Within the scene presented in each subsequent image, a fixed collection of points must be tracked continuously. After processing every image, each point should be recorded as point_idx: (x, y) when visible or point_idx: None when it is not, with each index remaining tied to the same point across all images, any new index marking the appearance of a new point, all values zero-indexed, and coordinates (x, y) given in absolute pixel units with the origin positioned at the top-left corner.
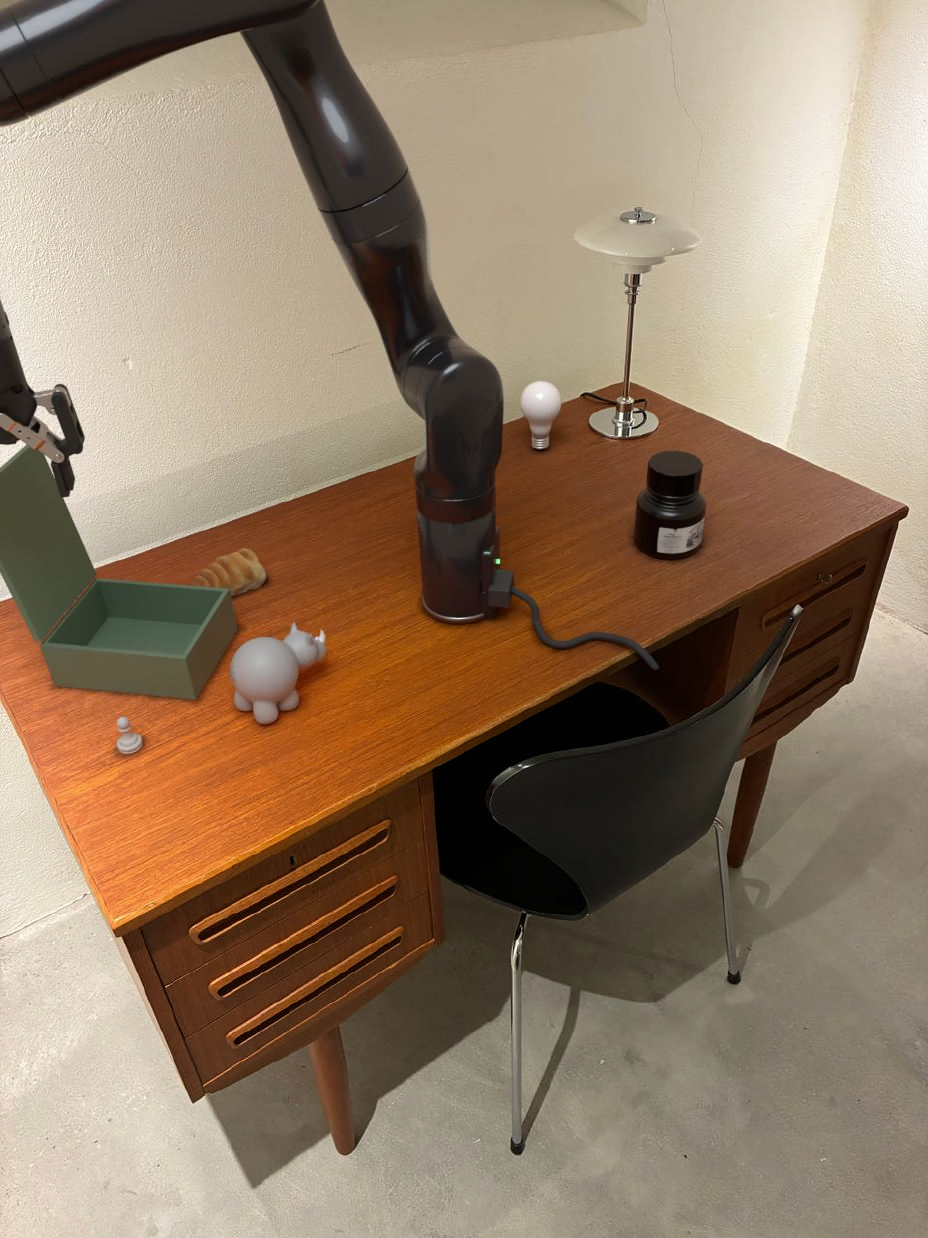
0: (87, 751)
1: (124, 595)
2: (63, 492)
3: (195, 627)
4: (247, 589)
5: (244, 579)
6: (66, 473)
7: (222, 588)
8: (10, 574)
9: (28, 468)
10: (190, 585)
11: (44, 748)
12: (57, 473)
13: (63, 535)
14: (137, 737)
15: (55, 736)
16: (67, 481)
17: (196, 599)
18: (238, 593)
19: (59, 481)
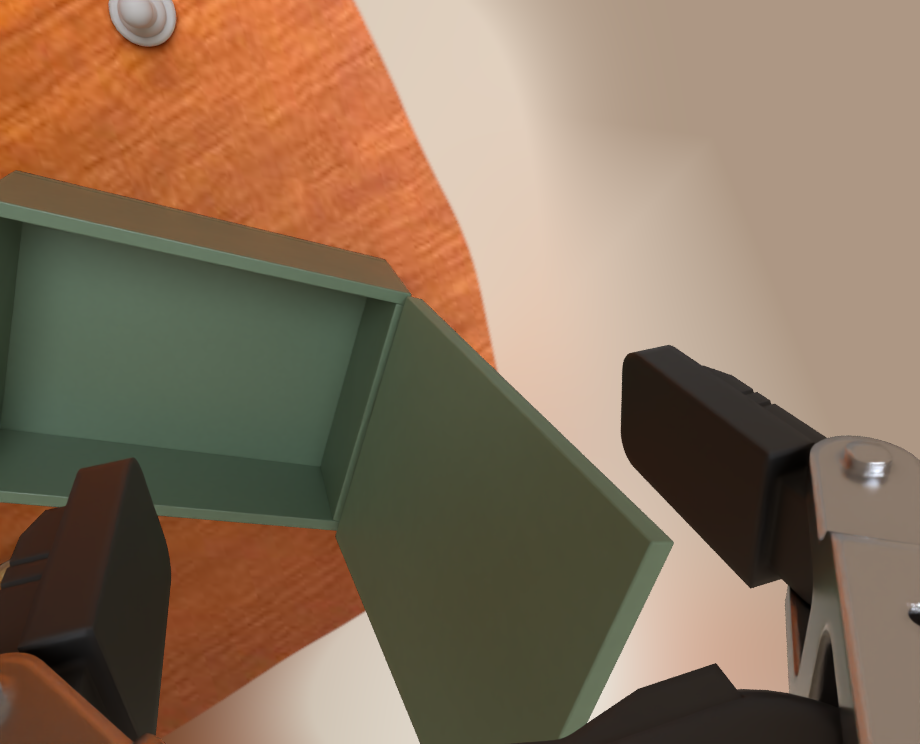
0: (253, 15)
1: (270, 494)
2: (96, 474)
3: (99, 429)
4: (8, 561)
5: (1, 580)
6: (19, 597)
7: None
8: (485, 388)
9: None
10: None
11: (358, 47)
12: (69, 572)
13: (393, 589)
14: (118, 15)
15: (343, 86)
16: (48, 549)
17: (68, 477)
18: None
19: (86, 526)
